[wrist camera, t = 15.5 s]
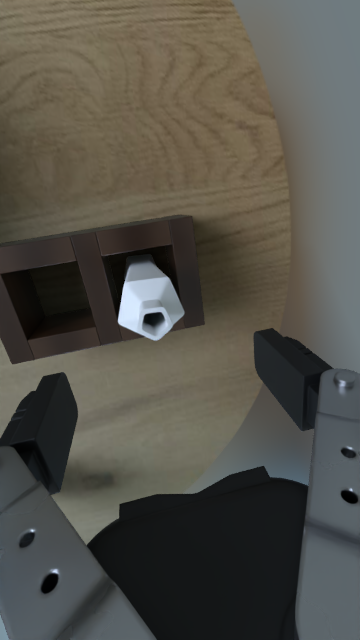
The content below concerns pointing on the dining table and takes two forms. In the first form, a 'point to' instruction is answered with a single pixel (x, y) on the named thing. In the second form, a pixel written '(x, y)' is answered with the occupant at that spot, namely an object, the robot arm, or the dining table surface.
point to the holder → (90, 285)
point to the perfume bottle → (148, 299)
